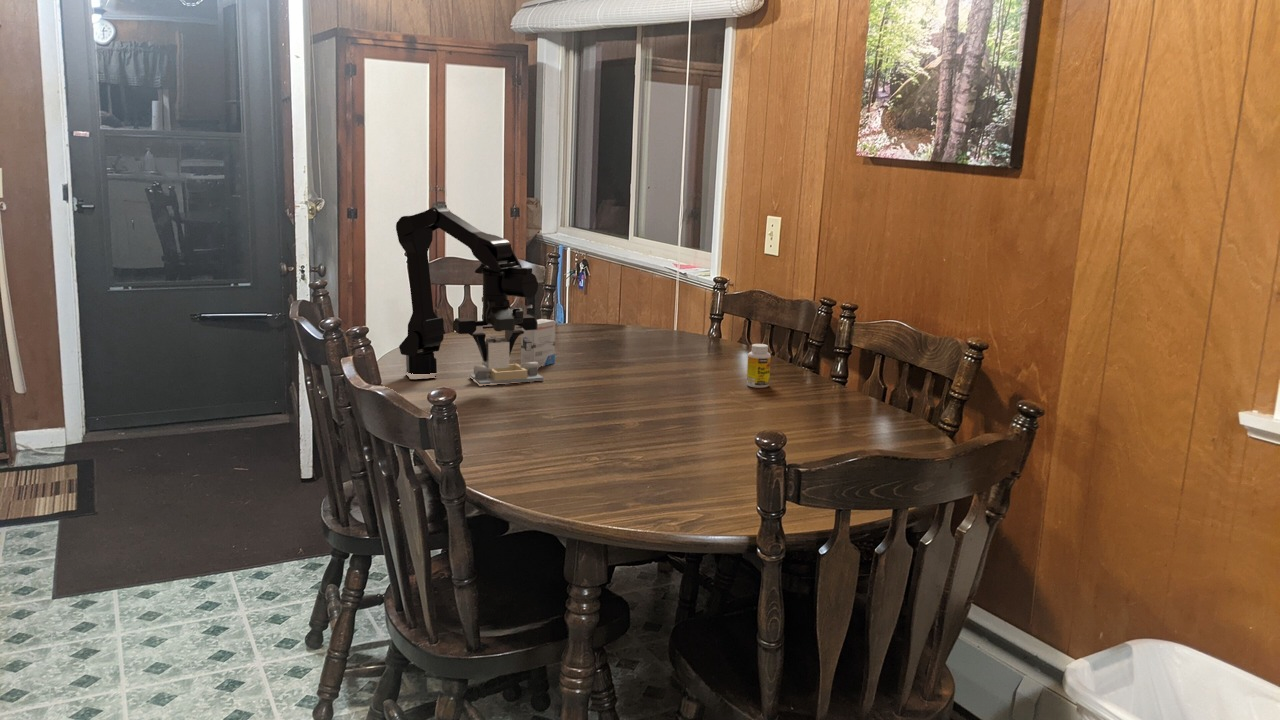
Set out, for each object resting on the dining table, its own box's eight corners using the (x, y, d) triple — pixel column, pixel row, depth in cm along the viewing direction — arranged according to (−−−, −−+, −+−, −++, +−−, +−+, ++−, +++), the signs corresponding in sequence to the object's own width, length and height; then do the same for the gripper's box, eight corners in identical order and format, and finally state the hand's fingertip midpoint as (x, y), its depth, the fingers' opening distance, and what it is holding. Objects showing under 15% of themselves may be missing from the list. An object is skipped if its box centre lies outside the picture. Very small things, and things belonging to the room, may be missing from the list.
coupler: (488, 369, 229) (488, 340, 228) (482, 364, 234) (482, 336, 232) (509, 367, 232) (509, 339, 230) (503, 363, 236) (502, 335, 235)
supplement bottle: (756, 389, 242) (758, 348, 240) (741, 384, 247) (743, 344, 245) (773, 386, 245) (776, 346, 243) (759, 382, 250) (761, 342, 248)
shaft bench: (480, 386, 239) (479, 370, 238) (469, 378, 247) (469, 362, 246) (543, 381, 245) (543, 365, 244) (531, 373, 253) (531, 358, 252)
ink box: (542, 361, 268) (542, 318, 266) (556, 363, 265) (556, 320, 263) (519, 366, 261) (519, 322, 259) (534, 369, 258) (534, 324, 256)
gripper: (465, 301, 218) (465, 370, 221) (545, 297, 226) (545, 364, 229) (451, 293, 228) (452, 360, 231) (529, 290, 236) (529, 355, 239)
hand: (495, 360), depth 232 cm, fingers closed on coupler, 5 cm apart
